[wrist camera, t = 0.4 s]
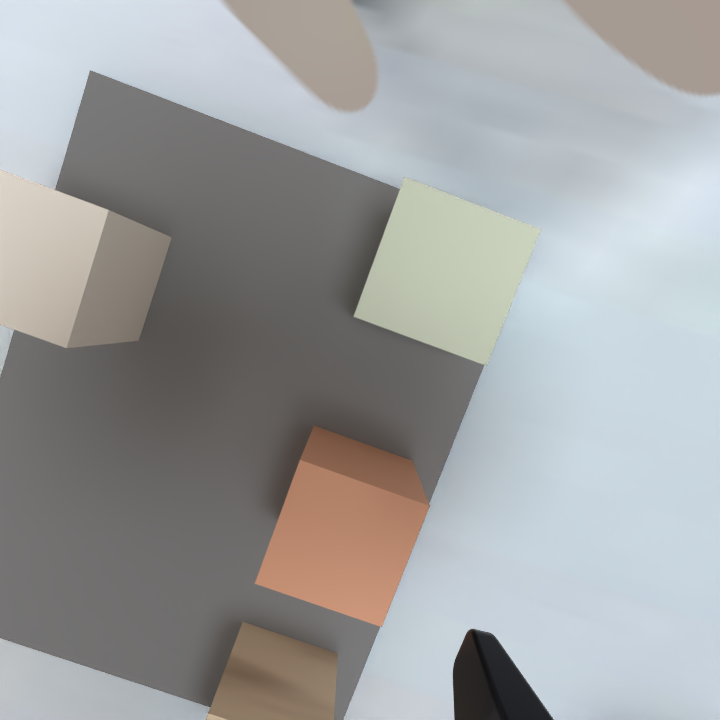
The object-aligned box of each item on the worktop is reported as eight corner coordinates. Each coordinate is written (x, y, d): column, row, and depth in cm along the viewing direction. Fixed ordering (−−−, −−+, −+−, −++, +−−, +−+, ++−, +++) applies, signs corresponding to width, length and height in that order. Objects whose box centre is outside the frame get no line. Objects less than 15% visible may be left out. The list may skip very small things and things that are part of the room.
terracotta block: (376, 554, 21) (381, 627, 16) (279, 520, 21) (254, 583, 16) (412, 460, 21) (429, 505, 16) (313, 425, 21) (299, 459, 16)
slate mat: (332, 737, 23) (332, 747, 22) (-60, 608, 22) (-70, 615, 21) (529, 242, 20) (533, 240, 20) (97, 76, 19) (90, 70, 19)
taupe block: (138, 340, 20) (66, 348, 15) (34, 303, 20) (-74, 298, 15) (171, 237, 20) (108, 210, 15) (65, 197, 19) (-35, 156, 14)
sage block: (455, 354, 20) (487, 365, 15) (354, 316, 20) (353, 316, 15) (495, 251, 20) (541, 229, 15) (392, 212, 20) (404, 176, 15)
